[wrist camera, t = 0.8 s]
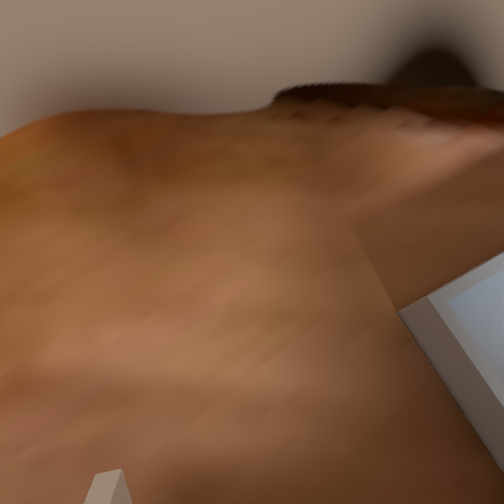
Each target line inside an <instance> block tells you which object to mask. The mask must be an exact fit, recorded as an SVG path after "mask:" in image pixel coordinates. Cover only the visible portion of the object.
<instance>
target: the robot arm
mask: <svg viewBox="0 0 504 504" xmlns="http://www.w3.org/2000/svg"><path fill="white" fill-rule="evenodd" d="M84 504H132V501H131V497H130V494H129V491H128V487H127V484H126V481H125V478H124V474H123V471H122V469H117V470H113V471H108V472H103V473H99V474H96V475H95V477H94V480H93V482H92V485H91V487H90V490H89V492H88V494H87V497H86V499H85V502H84Z"/></svg>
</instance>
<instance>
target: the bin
mask: <svg viewBox="0 0 504 504" xmlns="http://www.w3.org/2000/svg"><path fill="white" fill-rule="evenodd" d="M397 313H398V315H399V316H400V318H401V319H402V321H403V322H404V324H405V325H406V327H407V328H408V330H409V331H410V333H411V334H412V336H413V337H414V339H415V340H416V342H417V343H418V345H419V346H420V348H421V349H422V351H423V352H424V354H425V356H426V357H427V359H428V360H429V362H430V363H431V365H432V366H433V368H434V369H435V371H436V372H437V374H438V375H439V377H440V378H441V380H442V381H443V383H444V384H445V386H446V387H447V389H448V390H449V392H450V393H451V395H452V396H453V398H454V400H455V401H456V403H457V404H458V406H459V407H460V409H461V410H462V412H463V413H464V415H465V416H466V418H467V419H468V421H469V422H470V424H471V425H472V427H473V428H474V430H475V431H476V433H477V434H478V436H479V437H480V439H481V440H482V442H483V444H484V445H485V447H486V448H487V450H488V451H489V453H490V454H491V456H492V457H493V459H494V460H495V462H496V463H497V465H498V466H499V468H500V469H501V471H502V472H503V474H504V250H503V251H502V252H500V253H498V254H496V255H495V256H493V257H491V258H489V259H488V260H486V261H484V262H483V263H481V264H479V265H477V266H476V267H474V268H472V269H470V270H469V271H467V272H465V273H464V274H462V275H460V276H458V277H457V278H455V279H453V280H451V281H450V282H448V283H446V284H444V285H443V286H441V287H439V288H438V289H436V290H434V291H432V292H431V293H429V294H427V295H425V296H424V297H422V298H420V299H419V300H417V301H415V302H413V303H412V304H410V305H408V306H406V307H405V308H403V309H401V310H399V311H398V312H397Z"/></svg>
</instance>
